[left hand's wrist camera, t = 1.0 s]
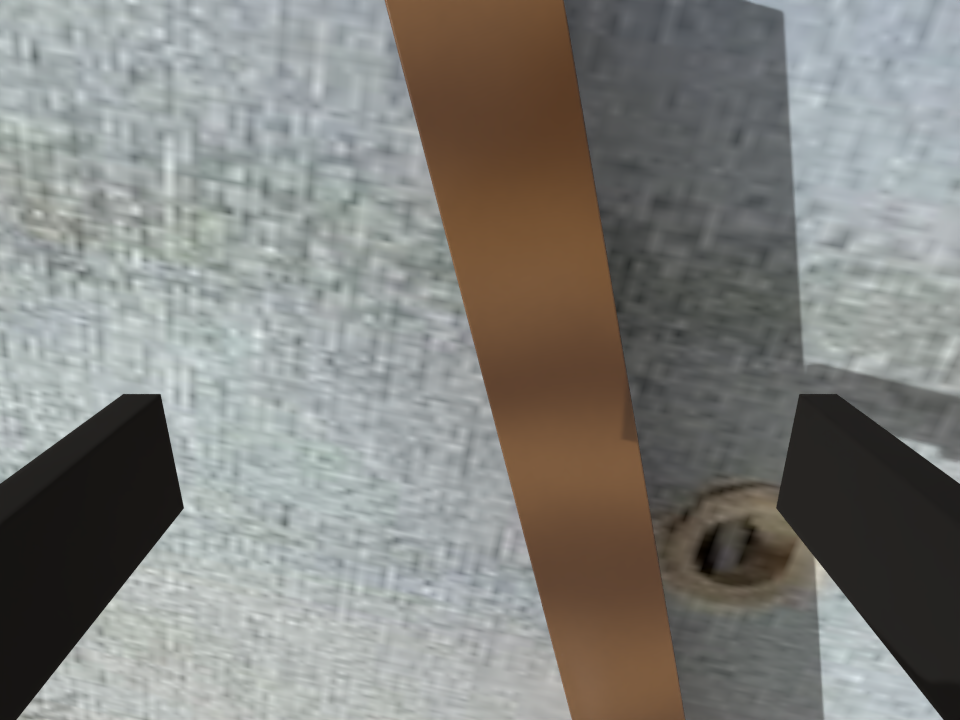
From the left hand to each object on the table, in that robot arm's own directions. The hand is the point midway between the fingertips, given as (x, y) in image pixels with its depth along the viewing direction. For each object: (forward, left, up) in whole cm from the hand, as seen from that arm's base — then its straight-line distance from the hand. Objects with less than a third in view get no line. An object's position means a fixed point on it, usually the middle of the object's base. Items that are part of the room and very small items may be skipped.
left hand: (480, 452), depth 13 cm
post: (+5, +21, -16) cm, 27 cm away
